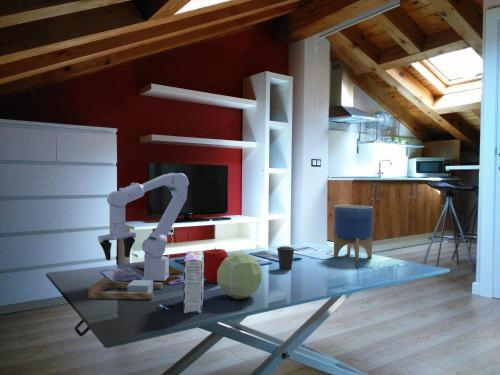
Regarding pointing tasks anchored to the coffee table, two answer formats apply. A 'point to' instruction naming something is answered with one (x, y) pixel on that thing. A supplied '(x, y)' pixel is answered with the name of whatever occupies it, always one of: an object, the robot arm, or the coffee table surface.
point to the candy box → (193, 281)
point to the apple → (213, 263)
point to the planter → (353, 228)
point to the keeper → (141, 286)
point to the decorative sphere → (239, 275)
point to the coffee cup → (285, 257)
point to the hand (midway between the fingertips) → (117, 258)
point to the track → (104, 283)
